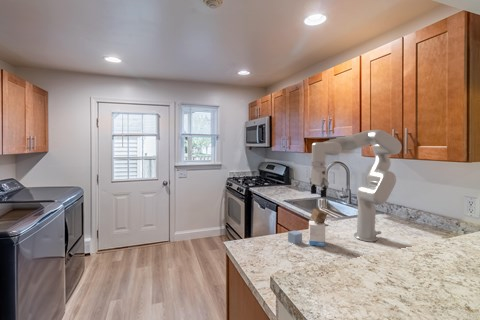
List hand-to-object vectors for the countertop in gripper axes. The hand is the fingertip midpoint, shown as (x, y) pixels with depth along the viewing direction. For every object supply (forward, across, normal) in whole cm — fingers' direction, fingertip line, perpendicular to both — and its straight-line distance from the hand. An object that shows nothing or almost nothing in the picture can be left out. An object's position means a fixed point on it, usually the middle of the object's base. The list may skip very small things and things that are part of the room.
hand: (318, 195), depth 139 cm
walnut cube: (+14, 0, +1) cm, 14 cm away
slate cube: (+27, +4, +12) cm, 30 cm away
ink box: (+27, 0, +1) cm, 27 cm away
